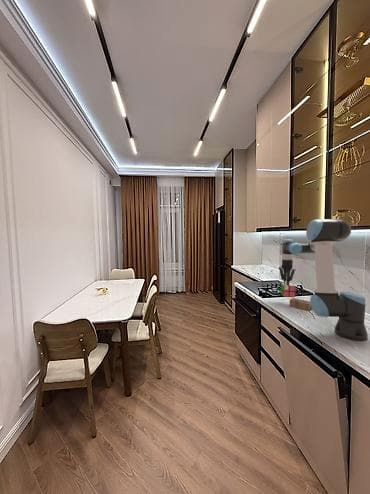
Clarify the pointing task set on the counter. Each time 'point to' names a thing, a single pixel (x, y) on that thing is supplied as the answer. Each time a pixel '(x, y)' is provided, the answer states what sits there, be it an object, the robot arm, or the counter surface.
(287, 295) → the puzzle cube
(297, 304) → the walnut block
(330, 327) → the counter surface
